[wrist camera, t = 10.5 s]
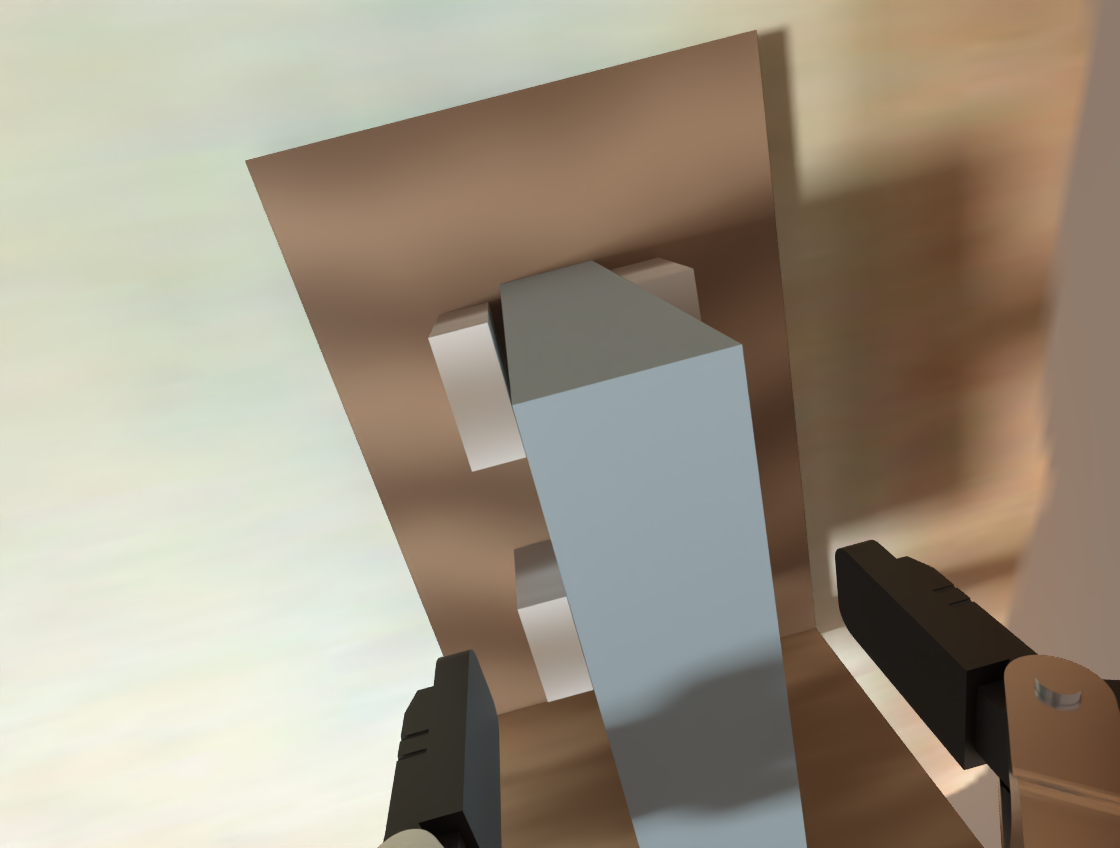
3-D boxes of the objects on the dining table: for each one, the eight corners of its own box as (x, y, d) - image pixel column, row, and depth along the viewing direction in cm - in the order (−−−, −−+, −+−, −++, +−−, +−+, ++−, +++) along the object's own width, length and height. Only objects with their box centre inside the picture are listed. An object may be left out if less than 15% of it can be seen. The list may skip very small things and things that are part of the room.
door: (499, 284, 19) (512, 404, 7) (616, 253, 19) (802, 328, 7) (594, 629, 24) (686, 1011, 12) (685, 604, 24) (859, 962, 13)
